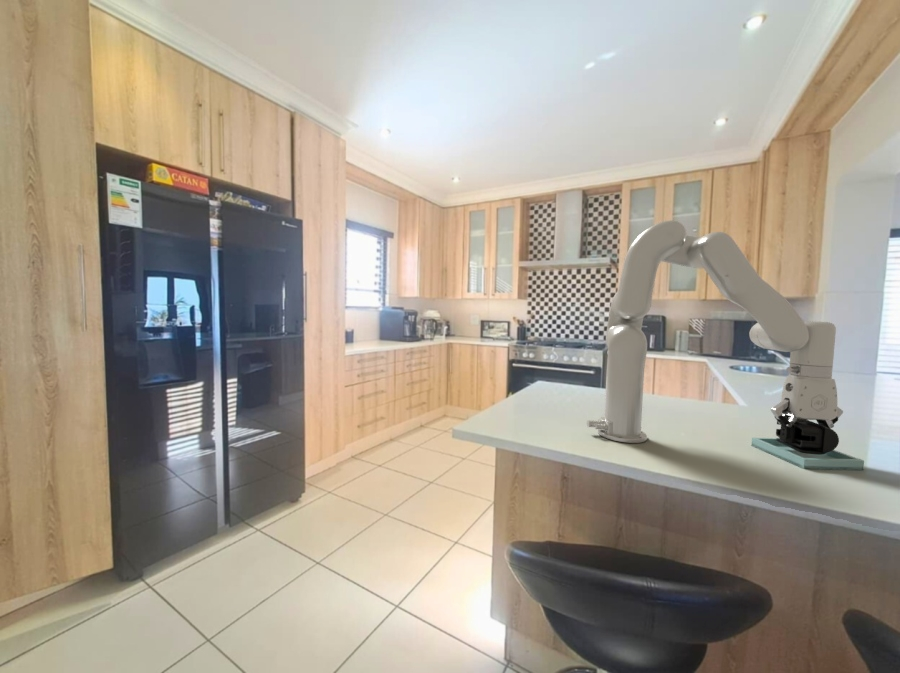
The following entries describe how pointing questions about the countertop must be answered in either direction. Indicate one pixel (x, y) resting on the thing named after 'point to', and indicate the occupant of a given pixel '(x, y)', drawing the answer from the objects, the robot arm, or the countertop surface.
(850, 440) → the countertop surface
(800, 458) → the tray
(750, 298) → the robot arm
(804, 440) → the end cap
